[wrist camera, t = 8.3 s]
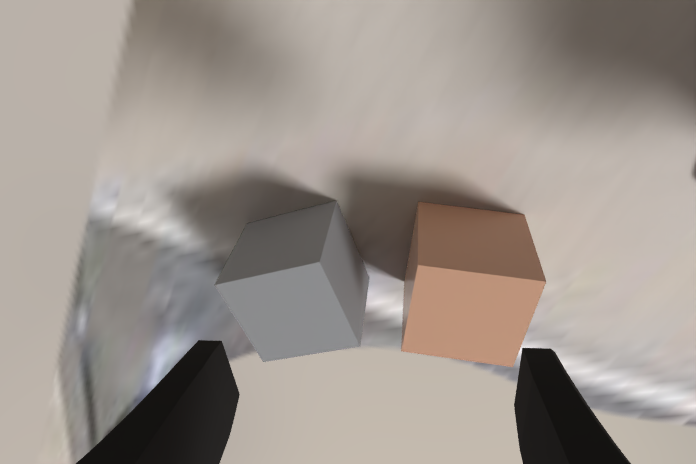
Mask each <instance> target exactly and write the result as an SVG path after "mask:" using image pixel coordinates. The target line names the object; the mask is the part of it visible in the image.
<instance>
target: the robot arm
mask: <svg viewBox="0 0 696 464" xmlns="http://www.w3.org/2000/svg"><path fill="white" fill-rule="evenodd" d="M238 399H239V391H238V388H237V385H236V382H235V379H234V376H233V373H232V370H231V367H230V364H229V361H228V358H227V355H226V352H225V349H224V346H223V343H222V341H203V340H199V341H198V342H197V343H196V344H195V345H194V346H193V347H192V348H191V349H190V350H189V351H188V352H187V353H186V354H185V355H184V356H183V357H182V359H181V360H180V361H179V362H178V363H177V364H176V365H175V366H174V367H173V368H172V369H171V370H170V372H169V373H168V374H167V375H166V376H165V377H164V378H163V379H162V380H161V381H160V382H159V383H158V384H157V385H156V387H155V388H154V389H153V390H152V391H151V392H150V393H149V394H148V395H147V396H146V397H145V398H144V399H143V400H142V401H141V402H140V403H139V404H138V405H137V406H136V407H135V408H134V409H133V410H132V411H131V412H130V413H129V414H128V415H127V416H126V417H125V418H124V419H123V420H122V421H121V422H120V423H119V424H118V425H117V426H116V427H115V428H114V429H113V430H112V431H111V432H110V433H109V434H108V435H107V436H106V437H105V438H104V439H103V440H101V441H100V442H99V443H98V444H97V445H96V446H95V447H94V448H93V449H92V450H91V451H90V452H88V453H87V454H86V455H85V456H84V457H83V458H82V459H81V460H79V461H78V462H77V463H76V464H219V463H220V460H221V457H222V455H223V452H224V449H225V446H226V444H227V441H228V438H229V435H230V432H231V428H232V424H233V420H234V416H235V412H236V408H237V403H238ZM514 407H515V415H516V423H517V431H518V439H519V446H520V452H521V456H522V460H523V464H631V463H630V462H629V461H628V460H627V458H626V457H625V456H624V454H623V453H622V452H621V450H620V449H619V448H618V447H617V445H616V444H615V443H614V441H613V440H612V439H611V437H610V436H609V434H608V433H607V431H606V430H605V429H604V427H603V426H602V425H601V423H600V422H599V420H598V419H597V418H596V416H595V415H594V413H593V412H592V410H591V409H590V407H589V406H588V405H587V403H586V402H585V400H584V399H583V397H582V395H581V394H580V392H579V391H578V389H577V388H576V386H575V385H574V383H573V382H572V380H571V378H570V377H569V375H568V374H567V372H566V370H565V369H564V367H563V365H562V364H561V362H560V360H559V358H558V357H557V355H556V353H555V352H554V351H553V350H552V349H542V348H522V355H521V362H520V369H519V376H518V383H517V390H516V397H515V404H514Z"/></svg>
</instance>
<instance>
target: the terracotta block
mask: <svg viewBox="0 0 696 464" xmlns="http://www.w3.org/2000/svg"><path fill="white" fill-rule="evenodd" d="M545 284H546V280H545V276H544V273H543V270H542V267H541V264H540V261H539V258H538V255H537V252H536V249H535V246H534V243H533V240H532V237H531V233H530V230H529V227H528V224H527V221H526V218H525V215H523V214H514V213H506V212H498V211H490V210H481V209H473V208H465V207H457V206H449V205H440V204H432V203H424V202H418V207H417V212H416V218H415V224H414V229H413V235H412V240H411V246H410V252H409V257H408V263H407V269H406V274H405V280H404V299H403V322H402V346H401V351H403V352H410V353H417V354H424V355H431V356H439V357H446V358H453V359H460V360H467V361H474V362H481V363H488V364H495V365H502V366H510V367H513V365H514V363H515V360H516V357H517V355H518V352H519V350H520V347H521V345H522V342H523V340H524V337H525V335H526V332H527V329H528V327H529V324H530V322H531V319H532V317H533V314H534V312H535V309H536V307H537V304H538V301H539V299H540V296H541V294H542V291H543V289H544V286H545Z"/></svg>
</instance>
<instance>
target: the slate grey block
mask: <svg viewBox="0 0 696 464" xmlns="http://www.w3.org/2000/svg"><path fill="white" fill-rule="evenodd" d="M368 285H369V275H368V273H367V271H366V268H365V266H364V264H363V261H362V259H361V257H360V254H359V252H358V249H357V247H356V245H355V242H354V240H353V238H352V235H351V233H350V231H349V228H348V226H347V224H346V221H345V219H344V217H343V214H342V212H341V209H340V207H339V205H338V202H337V201H333V202H329V203H325V204H321V205H317V206H313V207H309V208H305V209H301V210H298V211H294V212H290V213H286V214H282V215H278V216H274V217H270V218H266V219H263V220H259V221H255V222H251V223H247V224H246V226H245V228H244V230H243V232H242V234H241V236H240V238H239V240H238V241H237V243H236V245H235V247H234V249H233V251H232V253H231V255H230V256H229V258H228V260H227V262H226V264H225V266H224V268H223V270H222V272H221V273H220V275H219V277H218V279H217V281H216V283H215V287H216V289H217V290H218V292H219V293H220V295H221V296H222V298H223V300H224V301H225V303H226V304H227V306H228V307H229V309H230V311H231V312H232V314H233V315H234V317H235V318H236V320H237V321H238V323H239V325H240V326H241V328H242V329H243V331H244V332H245V334H246V336H247V337H248V339H249V340H250V342H251V343H252V345H253V347H254V348H255V350H256V351H257V353H258V354H259V356H260V358H261V359H262V361H263V362H266V361H272V360H279V359H285V358H291V357H297V356H303V355H310V354H316V353H322V352H328V351H334V350H340V349H347V348H353V347H359V346H360V344H361V336H362V329H363V322H364V314H365V307H366V299H367V292H368Z"/></svg>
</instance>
